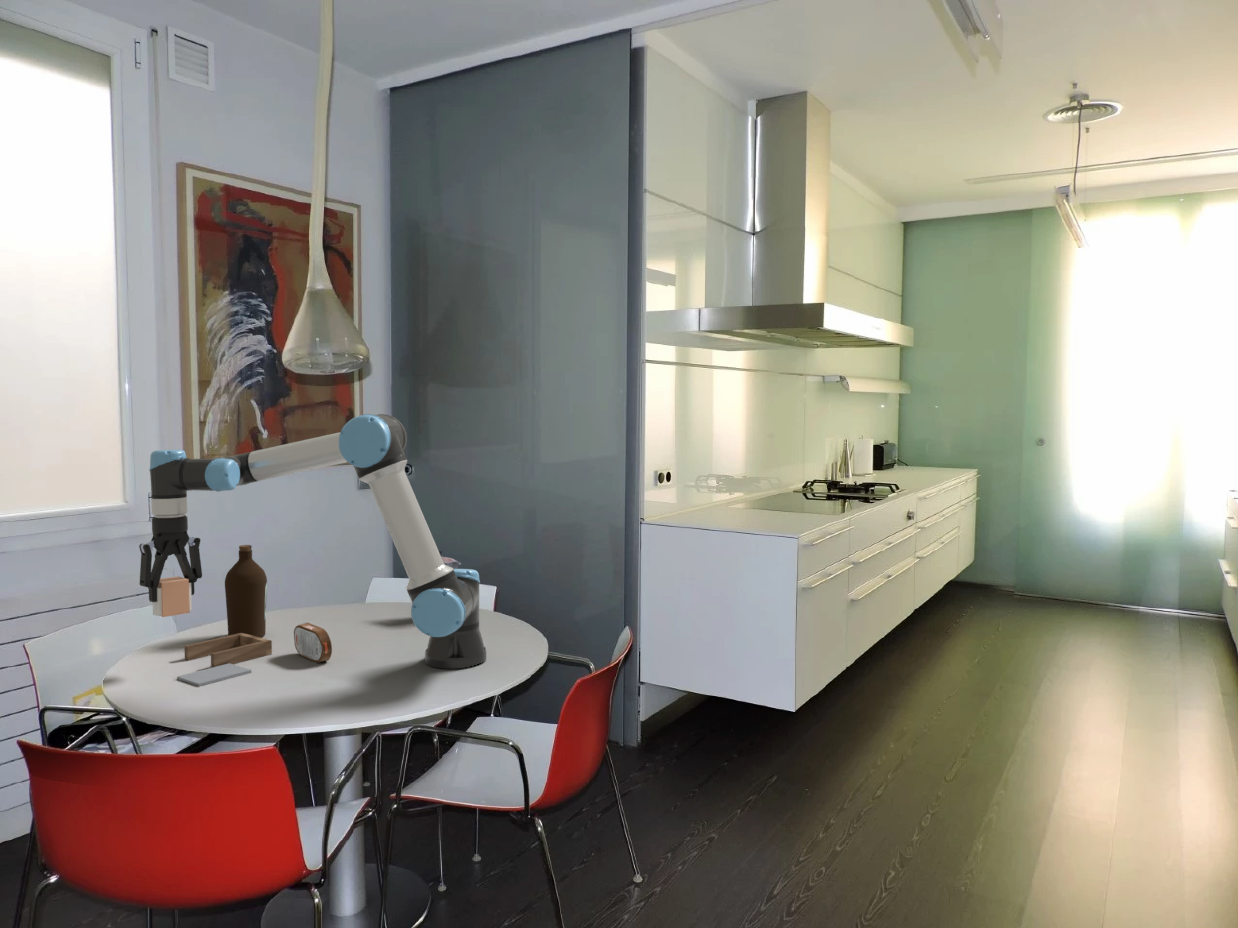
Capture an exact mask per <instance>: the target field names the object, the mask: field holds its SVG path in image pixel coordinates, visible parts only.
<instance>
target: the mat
mask: <svg viewBox="0 0 1238 928" xmlns="http://www.w3.org/2000/svg"><path fill="white" fill-rule="evenodd" d="M251 673H252V669H249V668H246V667H244V666H240V665H237V664H230V663H228V664H225V665H221V666H217V667H213V668H211V667H209V668H204V669H201V670H197V671H194V672H191V673H186V674H181V675H178V676H177V677H176V680H178V679H179V681H182V682H185V683H188V684H191V685H194V686H196V687H201V686H202V687H203V686H206V685H210V684H213V683H216V682H221V681H224V680H223V679H225V680H228V679H232V678H236V677H239V676H242V675H247V674H251ZM227 678H228V679H227Z"/></svg>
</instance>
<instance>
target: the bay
mask: <svg viewBox="0 0 1238 928" xmlns="http://www.w3.org/2000/svg"><path fill="white" fill-rule="evenodd" d="M272 643H273V641H272V640H270V639H266V638H263V637H261V638H260V637H256V636H252V635H248V634H244V633H238V634H234V635H230V636H228V635H225V636H221V637H216V638H213V639H207V640H204V641H200V642H199V641H198V642H194V643H190V644H186V645H184V647H183V648H184V660H185V661H187V662H188V661H192V660H197V659H200V658H201V659H202V658H205V657H209V656H210V668H213V667H217V666H221V665H225V664H228V663H230V664H233V665H236V664H239V663H243V662H247V661H250V660H254V659H258V658H262V657H266V655H267V656H270V655H272V654H273V648H272V645H273V644H272ZM208 655H209V656H208Z"/></svg>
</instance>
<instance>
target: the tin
mask: <svg viewBox="0 0 1238 928" xmlns="http://www.w3.org/2000/svg"><path fill="white" fill-rule="evenodd" d="M293 639H294V647H295V650H296V652H297V653H298V655H300V656H301V657H303V658H305V659H308V660H310V661H312V662H314V663H318V664H319V663H323V662H326V661H327V662H328V661H329V660H330V659H331V657H332V653H333V646H332V640H331V638H330V635H329V634H328V632H327V631H326V629H324V628H322V627H321V626H318V625H315V624H313V623H310V622H305V623H300V624H298V625H296V626H295V628H294V629H293Z"/></svg>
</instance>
